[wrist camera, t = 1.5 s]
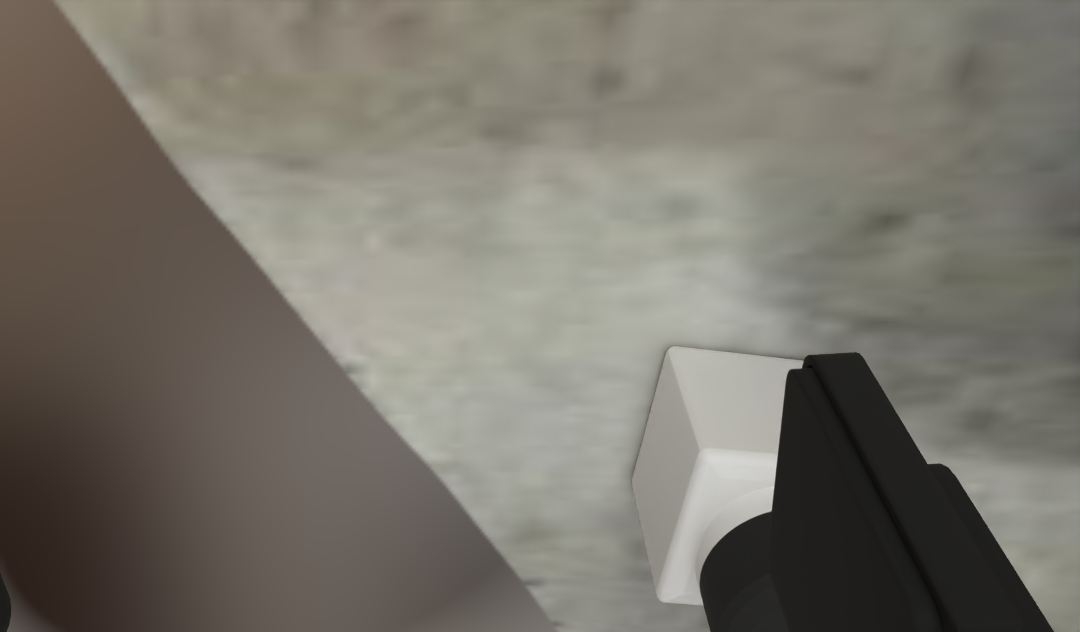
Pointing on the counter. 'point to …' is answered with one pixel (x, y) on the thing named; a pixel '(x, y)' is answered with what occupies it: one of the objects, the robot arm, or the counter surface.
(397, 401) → the counter surface
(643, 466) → the medicine bottle
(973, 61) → the counter surface
